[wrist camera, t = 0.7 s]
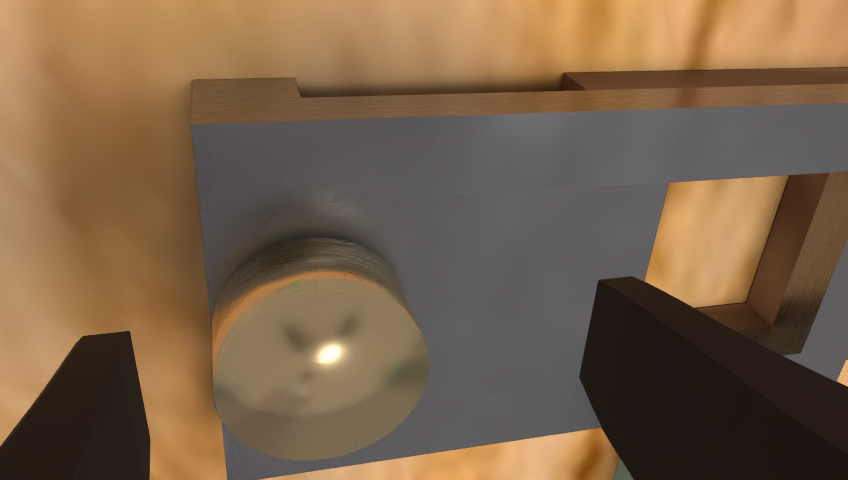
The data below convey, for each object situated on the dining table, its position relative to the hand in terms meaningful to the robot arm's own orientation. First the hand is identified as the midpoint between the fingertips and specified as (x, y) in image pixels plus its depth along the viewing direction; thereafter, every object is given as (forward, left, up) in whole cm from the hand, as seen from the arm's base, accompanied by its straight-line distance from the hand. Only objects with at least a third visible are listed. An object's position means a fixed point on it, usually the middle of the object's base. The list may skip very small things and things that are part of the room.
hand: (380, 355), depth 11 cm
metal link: (-4, -8, -10) cm, 13 cm away
